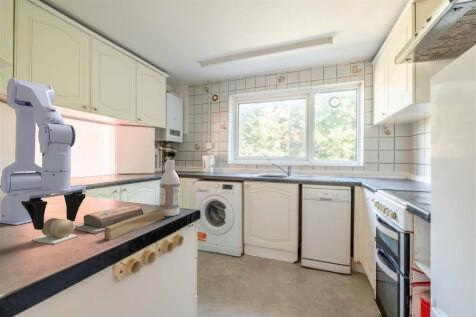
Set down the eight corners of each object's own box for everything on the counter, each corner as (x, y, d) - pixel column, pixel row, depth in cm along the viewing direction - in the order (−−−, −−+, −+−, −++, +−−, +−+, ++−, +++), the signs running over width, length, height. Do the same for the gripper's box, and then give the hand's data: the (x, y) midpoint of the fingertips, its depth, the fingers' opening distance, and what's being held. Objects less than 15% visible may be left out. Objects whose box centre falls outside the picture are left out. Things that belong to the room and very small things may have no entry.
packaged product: (128, 203, 82) (148, 206, 77) (127, 216, 82) (148, 220, 77) (74, 213, 65) (96, 218, 61) (73, 230, 65) (95, 236, 61)
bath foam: (156, 214, 84) (157, 160, 84) (173, 211, 89) (174, 160, 89) (165, 217, 79) (166, 160, 79) (182, 214, 84) (183, 160, 84)
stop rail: (104, 238, 58) (104, 227, 58) (159, 217, 79) (159, 209, 79) (110, 239, 57) (110, 228, 57) (164, 218, 78) (164, 209, 78)
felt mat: (32, 240, 56) (32, 238, 56) (56, 233, 61) (56, 231, 61) (54, 244, 54) (54, 242, 54) (78, 236, 59) (78, 235, 59)
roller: (45, 239, 57) (38, 225, 56) (62, 228, 61) (56, 214, 60) (59, 241, 56) (52, 227, 54) (76, 230, 60) (70, 216, 58)
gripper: (34, 173, 49) (33, 235, 49) (94, 170, 63) (93, 219, 63) (13, 172, 51) (12, 232, 51) (75, 169, 65) (75, 216, 65)
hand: (55, 224), depth 57 cm, fingers open, 7 cm apart
